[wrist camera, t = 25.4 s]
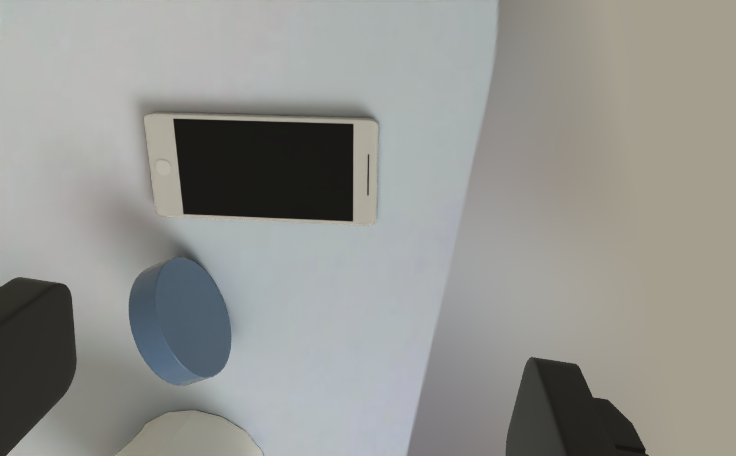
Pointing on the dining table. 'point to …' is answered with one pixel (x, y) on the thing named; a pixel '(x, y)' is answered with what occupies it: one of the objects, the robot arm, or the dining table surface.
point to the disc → (180, 322)
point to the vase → (190, 437)
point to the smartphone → (264, 167)
